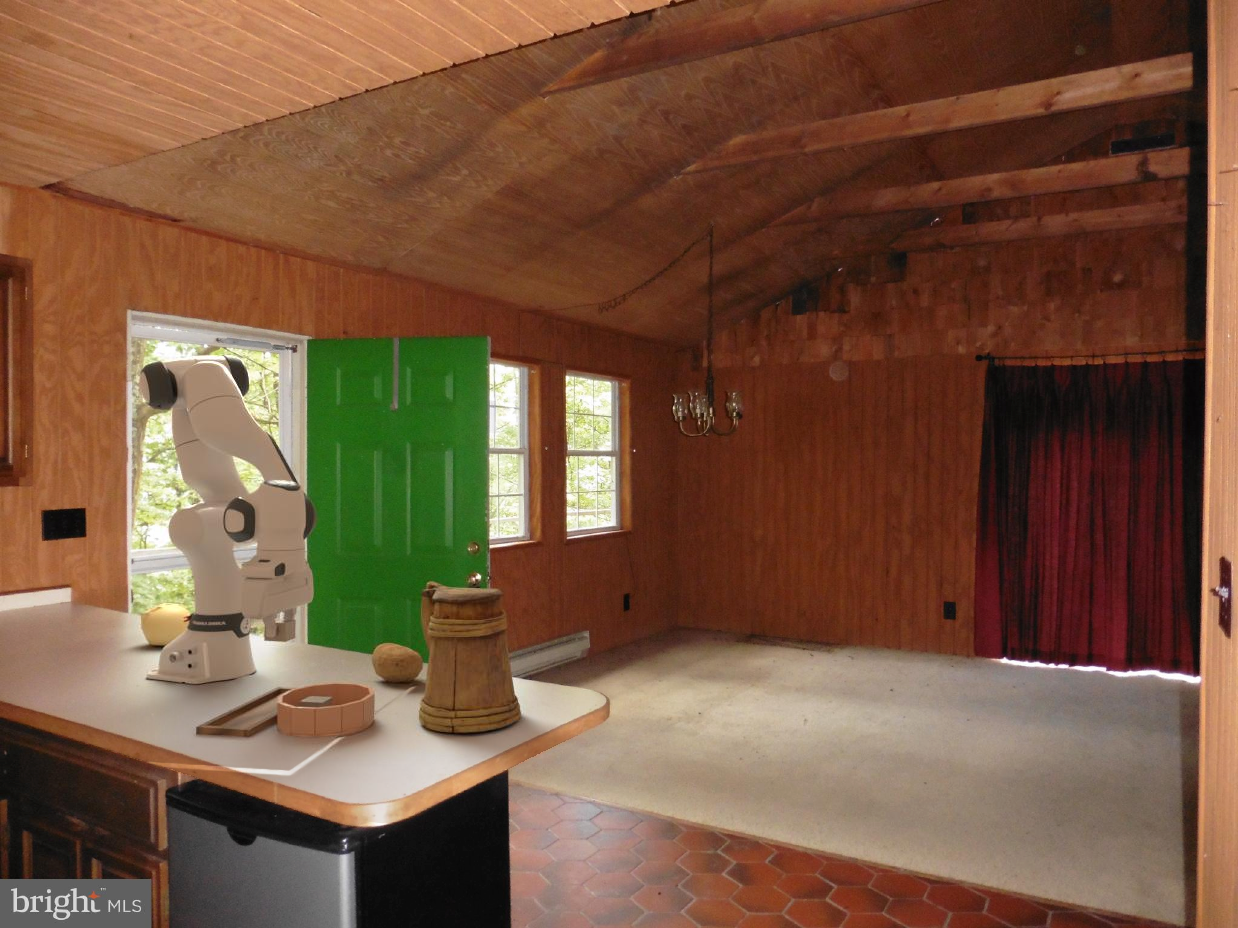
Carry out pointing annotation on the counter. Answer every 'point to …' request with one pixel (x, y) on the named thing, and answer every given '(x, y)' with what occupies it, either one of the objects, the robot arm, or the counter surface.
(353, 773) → the counter surface
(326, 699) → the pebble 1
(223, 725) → the parts tray
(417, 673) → the potato
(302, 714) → the bowl
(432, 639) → the tankard
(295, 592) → the robot arm
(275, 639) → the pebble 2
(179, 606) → the yellow apple
